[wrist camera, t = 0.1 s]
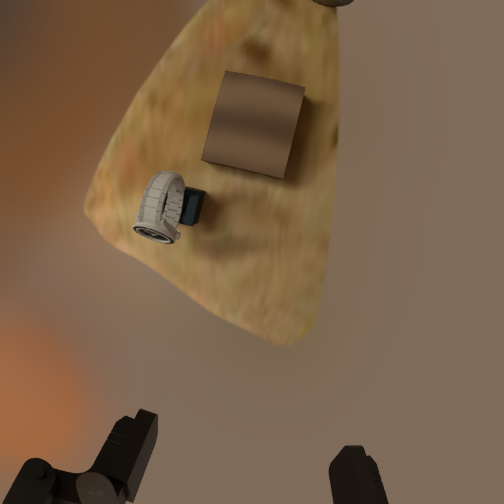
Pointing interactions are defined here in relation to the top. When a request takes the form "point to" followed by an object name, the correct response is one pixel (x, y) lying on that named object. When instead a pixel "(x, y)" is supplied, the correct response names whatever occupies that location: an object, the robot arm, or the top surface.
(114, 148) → the top surface
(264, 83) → the plinth
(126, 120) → the top surface
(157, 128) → the top surface
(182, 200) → the watch
